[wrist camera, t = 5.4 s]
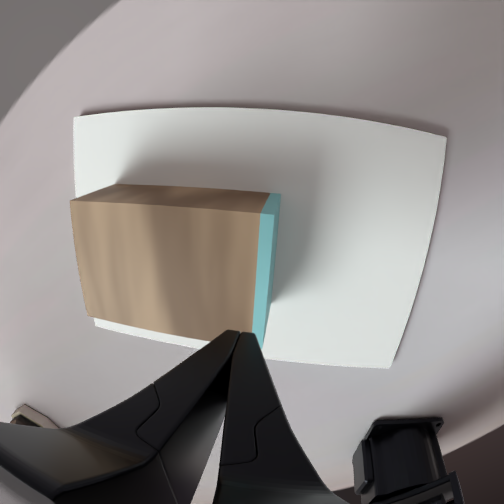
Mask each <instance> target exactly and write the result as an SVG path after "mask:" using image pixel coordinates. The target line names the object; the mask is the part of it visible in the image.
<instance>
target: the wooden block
mask: <svg viewBox="0 0 504 504" xmlns="http://www.w3.org/2000/svg"><path fill="white" fill-rule="evenodd" d="M280 199H281V194H277V193H266V192H255V191H243V190H230V189H216V188H200V187H182V186H161V185H133V184H113V185H111V186H108V187H105V188H102V189H99V190H97V191H94V192H91V193H89V194H86V195H83V196H81V197H78V198H76V199H73V200H70V209H71V219H72V228H73V236H74V244H75V251H76V257H77V264H78V270H79V275H80V281H81V286H82V291H83V296H84V301H85V306H86V310H87V315H88V316H90V317H94V318H98V319H102V320H106V321H110V322H114V323H119V324H123V325H127V326H132V327H136V328H141V329H146V330H150V331H155V332H160V333H165V334H170V335H176V336H181V337H186V338H192V339H198V340H203V341H209V342H211V341H212V340H213V339H215V338H216V337H217V336H219V335H220V334H221V333H223V332H224V331H226V330H228V329H230V330H237V331H240V332H251V333H255V334H256V337H257V339H258V342H259V345H260V348H261V349H262V348H263V343H264V338H265V333H266V327H267V322H268V317H269V312H270V306H271V298H272V288H273V278H274V267H275V257H276V246H277V235H278V223H279V211H280Z"/></svg>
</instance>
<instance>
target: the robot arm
mask: <svg viewBox="0 0 504 504" xmlns="http://www.w3.org/2000/svg"><path fill="white" fill-rule="evenodd" d="M224 417H225V419H224ZM223 419H224V428H223V437H222V446H221V455H220V464H219V473H218V481H217V487H216V491H215V495H214V499H213V503H212V504H349V503H348V502H346V501H344V500H342V499H341V498H339V497H338V496H336V495H335V494H333V492H331V491H330V490H329V489H328V488H327V486H326V485H325V484H324V483H323V481H322V480H321V478H320V477H319V475H318V473H317V472H316V470H315V469H314V467H313V465H312V464H311V462H310V461H309V459H308V457H307V456H306V454H305V452H304V451H303V449H302V447H301V446H300V444H299V442H298V440H297V438H296V437H295V435H294V433H293V431H292V429H291V427H290V424H289V422H288V420H287V417H286V415H285V412H284V410H283V407H282V405H281V402H280V399H279V397H278V394H277V391H276V389H275V386H274V383H273V381H272V378H271V375H270V372H269V370H268V367H267V364H266V362H265V359H264V356H263V353H262V351H261V348H260V345H259V342H258V339H257V337H256V334H255V333H251V332H240V331H237V330H230V329H228V330H226V331H224V332H223V333H221V334H220V335H219V336H217V337H216V338H215V339H213V340H212V341H211V342H209V343H208V344H207V345H205V346H204V347H202V348H201V349H200V350H198V351H197V352H196V353H194V354H193V355H191V356H190V357H189V358H187V359H186V360H184V361H183V362H182V363H180V364H179V365H177V366H176V367H175V368H173V369H172V370H170V371H169V372H167V373H166V374H165V375H163V376H162V377H160V378H159V379H157V380H156V381H155V382H154V384H153V383H152V384H150V385H149V386H147V387H146V388H144V389H143V390H141V391H140V392H138V393H137V394H135V395H133V396H132V397H130V398H129V399H127V400H125V401H123V402H121V403H119V404H118V405H116V406H114V407H112V408H110V409H108V410H106V411H104V412H102V413H100V414H98V415H96V416H94V417H92V418H90V419H88V420H86V421H84V422H81V423H79V424H77V425H74V426H71V427H67V428H60V429H53V428H42V427H33V426H25V425H17V424H11V423H4V422H0V504H191V501H192V499H193V496H194V494H195V491H196V489H197V486H198V484H199V481H200V479H201V476H202V474H203V471H204V469H205V466H206V464H207V461H208V458H209V456H210V453H211V451H212V448H213V446H214V443H215V440H216V438H217V435H218V432H219V430H220V427H221V425H222V422H223ZM443 424H444V421H443V418H440V417H439V418H426V419H409V420H378V421H375V422H374V423H373V424H372V425H371V427H370V429H369V431H368V433H367V435H366V436H365V438H364V439H363V440H362V441H361V442H360V444H359V446H358V448H357V450H356V451H355V453H354V455H353V460H352V463H353V468H354V487H355V493H356V494H357V495H361V502H362V504H465V503H464V499H463V495H462V491H461V487H460V484H459V481H458V477H457V475H456V471H453V472H451V473H449V475H447V472H446V469H445V465H444V461H443V457H442V453H441V450H440V446H439V443H438V439H437V436H436V434H437V433H438V431H439V430H440V428H441V427H442V425H443ZM453 497H454V500H452V501H449V502H447V503H446V500H448V499H451V498H453Z"/></svg>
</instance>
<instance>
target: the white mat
mask: <svg viewBox="0 0 504 504" xmlns="http://www.w3.org/2000/svg"><path fill="white" fill-rule="evenodd" d="M446 141H447V137H444V136H440V135H436V134H432V133H428V132H424V131H419V130H415V129H410V128H406V127H401V126H396V125H391V124H385V123H380V122H374V121H368V120H362V119H356V118H349V117H342V116H335V115H327V114H318V113H309V112H299V111H287V110H274V109H256V108H226V107H192V108H162V109H145V110H131V111H120V112H110V113H101V114H93V115H85V116H78V117H74V176H75V193H76V198H78V197H81V196H83V195H86V194H89V193H91V192H94V191H97V190H99V189H102V188H105V187H108V186H111V185H113V184H133V185H161V186H182V187H200V188H216V189H230V190H243V191H255V192H266V193H277V194H281V199H280V211H279V223H278V235H277V246H276V257H275V267H274V278H273V288H272V298H271V306H270V312H269V317H268V322H267V327H266V333H265V338H264V343H263V348H262V349H261V351H262V353H263V356H264V359H271V360H279V361H288V362H298V363H308V364H319V365H332V366H347V367H365V368H390V367H391V364H392V362H393V359H394V357H395V354H396V351H397V349H398V346H399V343H400V341H401V338H402V335H403V332H404V329H405V327H406V324H407V321H408V318H409V315H410V312H411V309H412V305H413V302H414V299H415V296H416V292H417V289H418V286H419V282H420V278H421V275H422V271H423V267H424V264H425V260H426V256H427V252H428V248H429V243H430V239H431V234H432V230H433V225H434V220H435V215H436V210H437V205H438V199H439V193H440V187H441V181H442V174H443V167H444V159H445V151H446ZM94 321H95V325H96V326H97V327H101V328H105V329H109V330H113V331H117V332H121V333H125V334H129V335H134V336H138V337H142V338H147V339H152V340H156V341H161V342H166V343H171V344H176V345H181V346H186V347H192V348H197V349H201V348H202V347H204V346H205V345H207V344H208V343H209V341H203V340H198V339H192V338H186V337H181V336H176V335H170V334H165V333H160V332H155V331H150V330H146V329H141V328H136V327H132V326H127V325H123V324H119V323H114V322H110V321H106V320H102V319H98V318H94Z"/></svg>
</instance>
